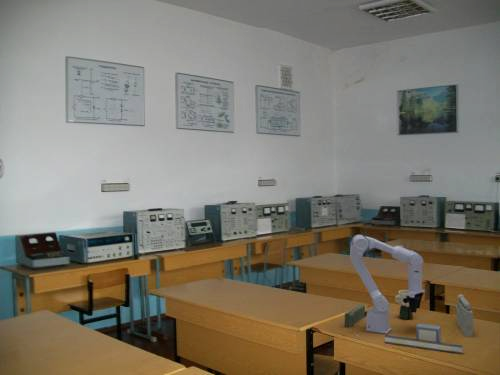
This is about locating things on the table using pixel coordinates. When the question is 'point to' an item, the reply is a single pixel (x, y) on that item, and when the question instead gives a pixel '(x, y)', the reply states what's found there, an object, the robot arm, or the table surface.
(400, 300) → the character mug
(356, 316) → the handheld radio
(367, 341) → the table surface
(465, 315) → the geiger counter
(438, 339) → the box
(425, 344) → the rail
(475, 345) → the table surface
